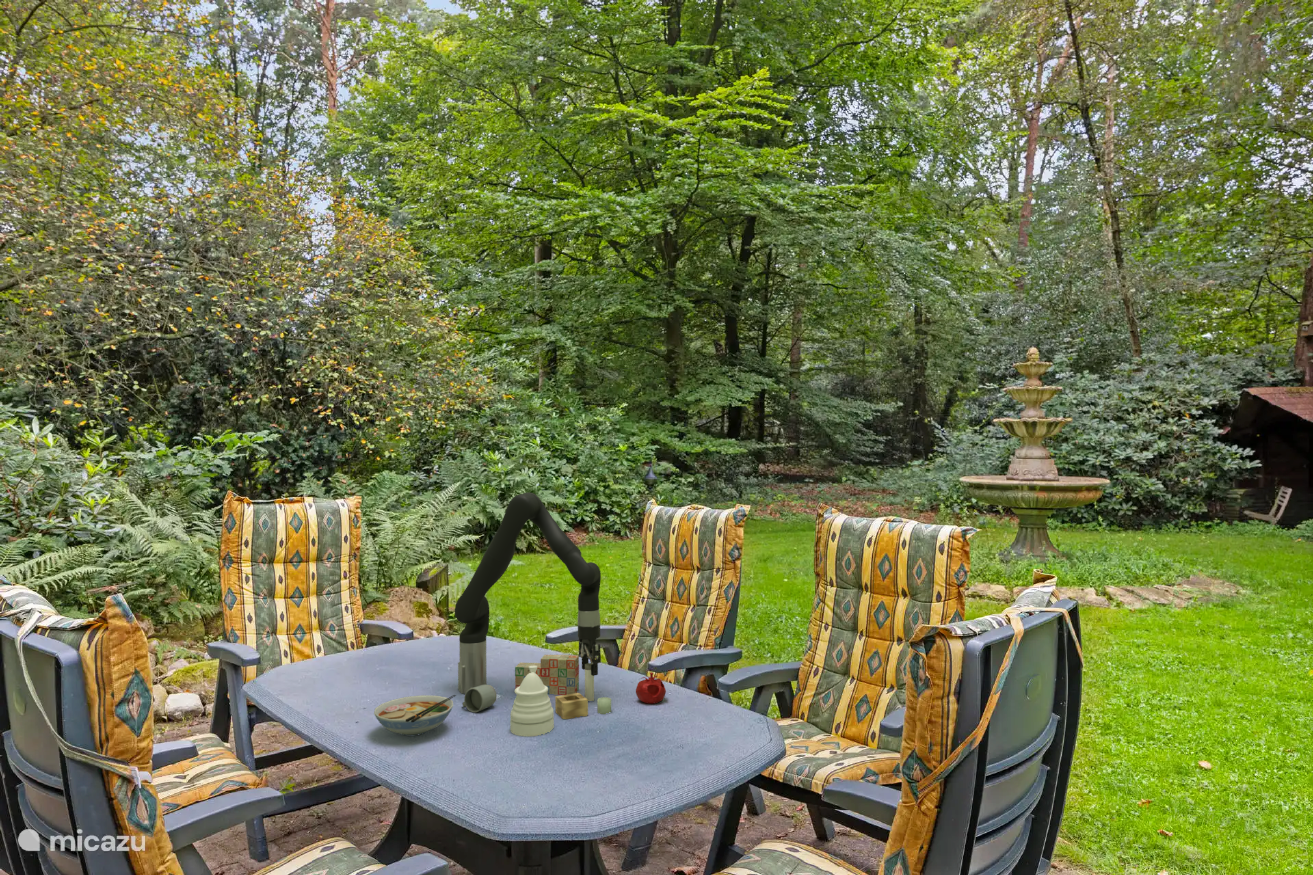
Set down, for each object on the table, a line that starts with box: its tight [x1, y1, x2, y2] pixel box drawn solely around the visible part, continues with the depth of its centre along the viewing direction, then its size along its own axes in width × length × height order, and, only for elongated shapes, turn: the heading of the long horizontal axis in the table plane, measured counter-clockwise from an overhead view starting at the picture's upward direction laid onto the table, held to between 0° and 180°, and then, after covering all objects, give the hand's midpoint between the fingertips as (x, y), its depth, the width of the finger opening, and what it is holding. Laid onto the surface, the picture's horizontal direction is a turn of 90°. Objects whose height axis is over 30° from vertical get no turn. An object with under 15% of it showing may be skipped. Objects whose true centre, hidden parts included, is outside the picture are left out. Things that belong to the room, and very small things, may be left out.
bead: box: [596, 696, 612, 715], centre depth 247 cm, size 4×4×4 cm
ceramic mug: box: [462, 684, 497, 714], centre depth 252 cm, size 11×8×8 cm
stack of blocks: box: [514, 654, 580, 696], centre depth 269 cm, size 21×6×12 cm, turn 83°
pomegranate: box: [635, 672, 667, 705], centre depth 257 cm, size 10×10×9 cm
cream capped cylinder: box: [584, 662, 595, 702], centre depth 258 cm, size 3×3×12 cm
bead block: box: [554, 692, 589, 720], centre depth 245 cm, size 8×8×5 cm
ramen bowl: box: [373, 694, 457, 736], centre depth 231 cm, size 25×23×8 cm
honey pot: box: [509, 666, 555, 737], centre depth 232 cm, size 13×13×18 cm
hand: (589, 671), depth 258 cm, fingers open, 8 cm apart
